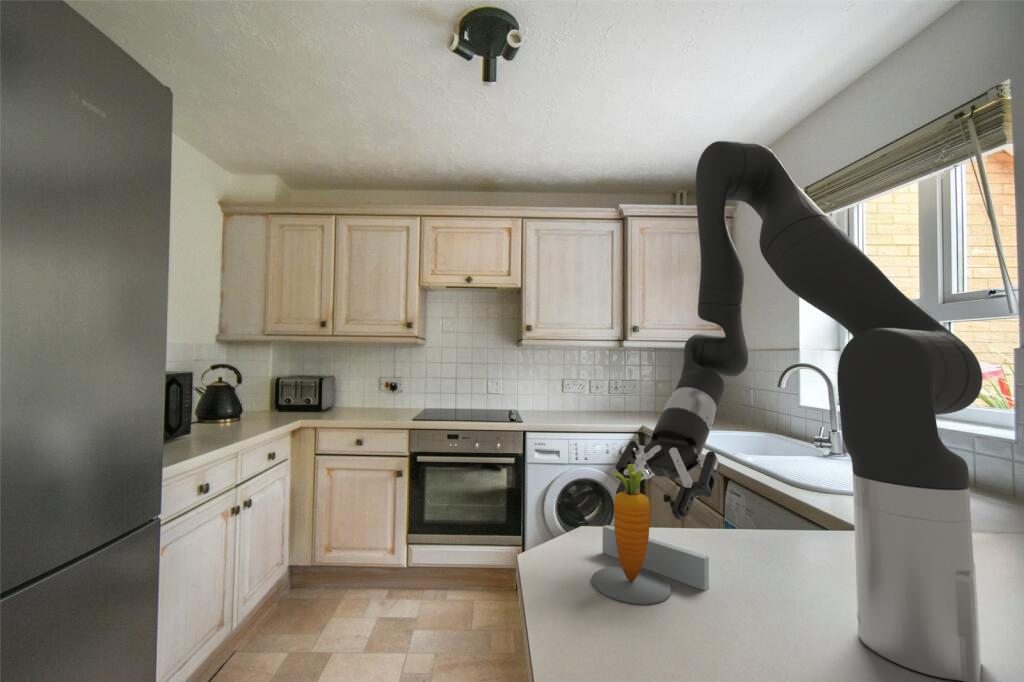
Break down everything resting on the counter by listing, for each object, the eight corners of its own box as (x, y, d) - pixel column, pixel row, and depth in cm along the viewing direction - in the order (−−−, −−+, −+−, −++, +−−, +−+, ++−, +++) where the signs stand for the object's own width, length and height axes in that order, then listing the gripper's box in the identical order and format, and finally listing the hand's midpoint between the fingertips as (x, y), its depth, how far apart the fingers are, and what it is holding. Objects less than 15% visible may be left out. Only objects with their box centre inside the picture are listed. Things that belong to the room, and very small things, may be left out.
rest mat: (685, 588, 58) (684, 585, 58) (644, 613, 51) (644, 609, 51) (619, 563, 65) (619, 560, 65) (576, 582, 59) (576, 579, 59)
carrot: (642, 594, 55) (643, 470, 57) (605, 582, 58) (607, 465, 60) (656, 581, 59) (656, 466, 61) (620, 570, 62) (622, 461, 64)
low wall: (708, 588, 58) (708, 556, 59) (704, 590, 58) (704, 558, 58) (606, 551, 70) (607, 525, 70) (602, 553, 69) (602, 526, 70)
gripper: (636, 403, 75) (594, 482, 66) (724, 409, 64) (688, 503, 55) (652, 433, 78) (614, 512, 69) (738, 443, 67) (706, 538, 58)
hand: (647, 508), depth 62 cm, fingers open, 8 cm apart
